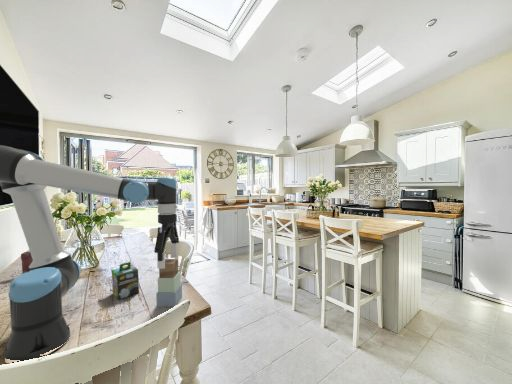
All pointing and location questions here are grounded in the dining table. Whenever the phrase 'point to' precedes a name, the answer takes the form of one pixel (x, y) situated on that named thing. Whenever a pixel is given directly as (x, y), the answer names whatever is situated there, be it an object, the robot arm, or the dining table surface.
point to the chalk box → (125, 281)
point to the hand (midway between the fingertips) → (168, 262)
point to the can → (26, 261)
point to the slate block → (169, 297)
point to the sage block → (169, 284)
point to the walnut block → (169, 269)
